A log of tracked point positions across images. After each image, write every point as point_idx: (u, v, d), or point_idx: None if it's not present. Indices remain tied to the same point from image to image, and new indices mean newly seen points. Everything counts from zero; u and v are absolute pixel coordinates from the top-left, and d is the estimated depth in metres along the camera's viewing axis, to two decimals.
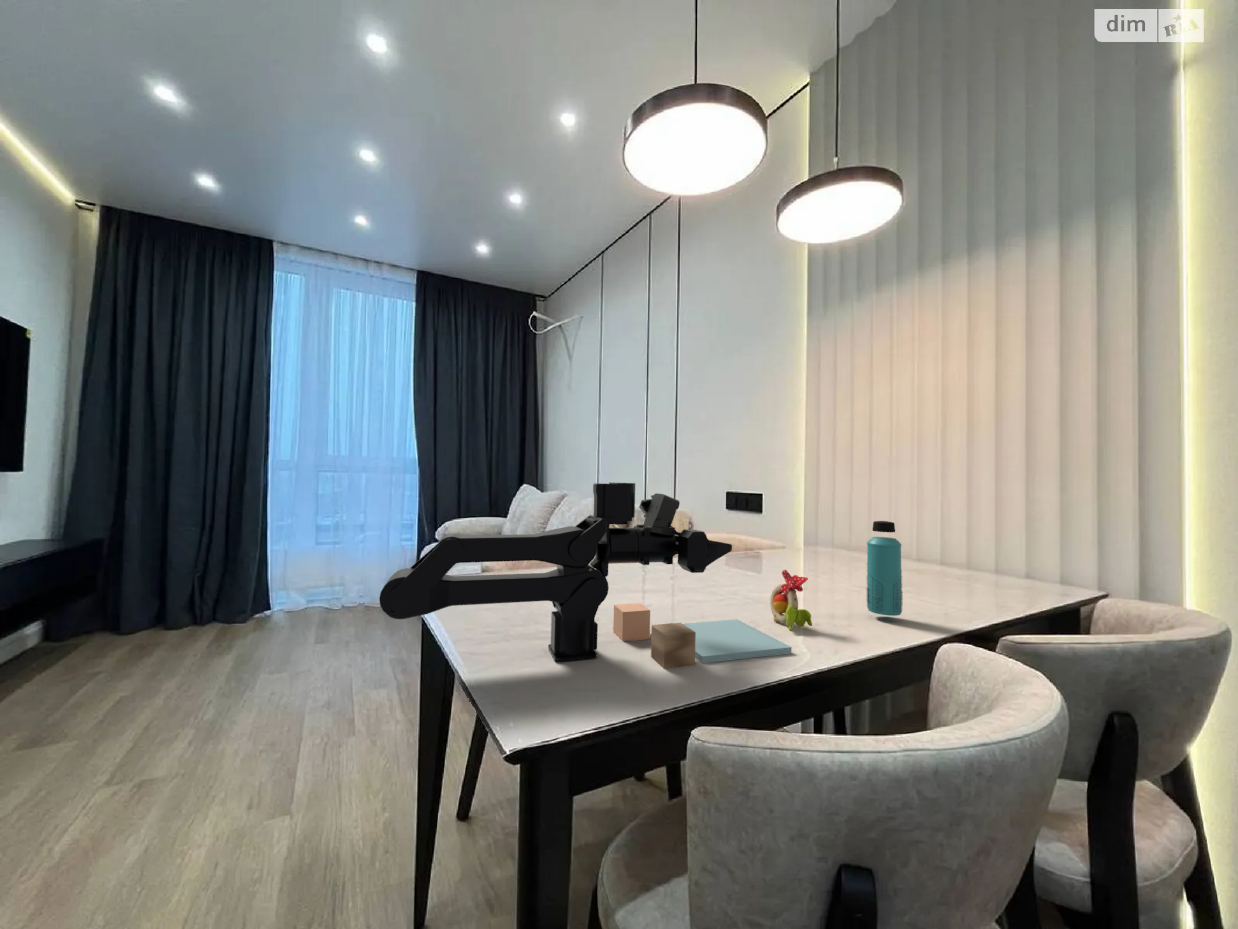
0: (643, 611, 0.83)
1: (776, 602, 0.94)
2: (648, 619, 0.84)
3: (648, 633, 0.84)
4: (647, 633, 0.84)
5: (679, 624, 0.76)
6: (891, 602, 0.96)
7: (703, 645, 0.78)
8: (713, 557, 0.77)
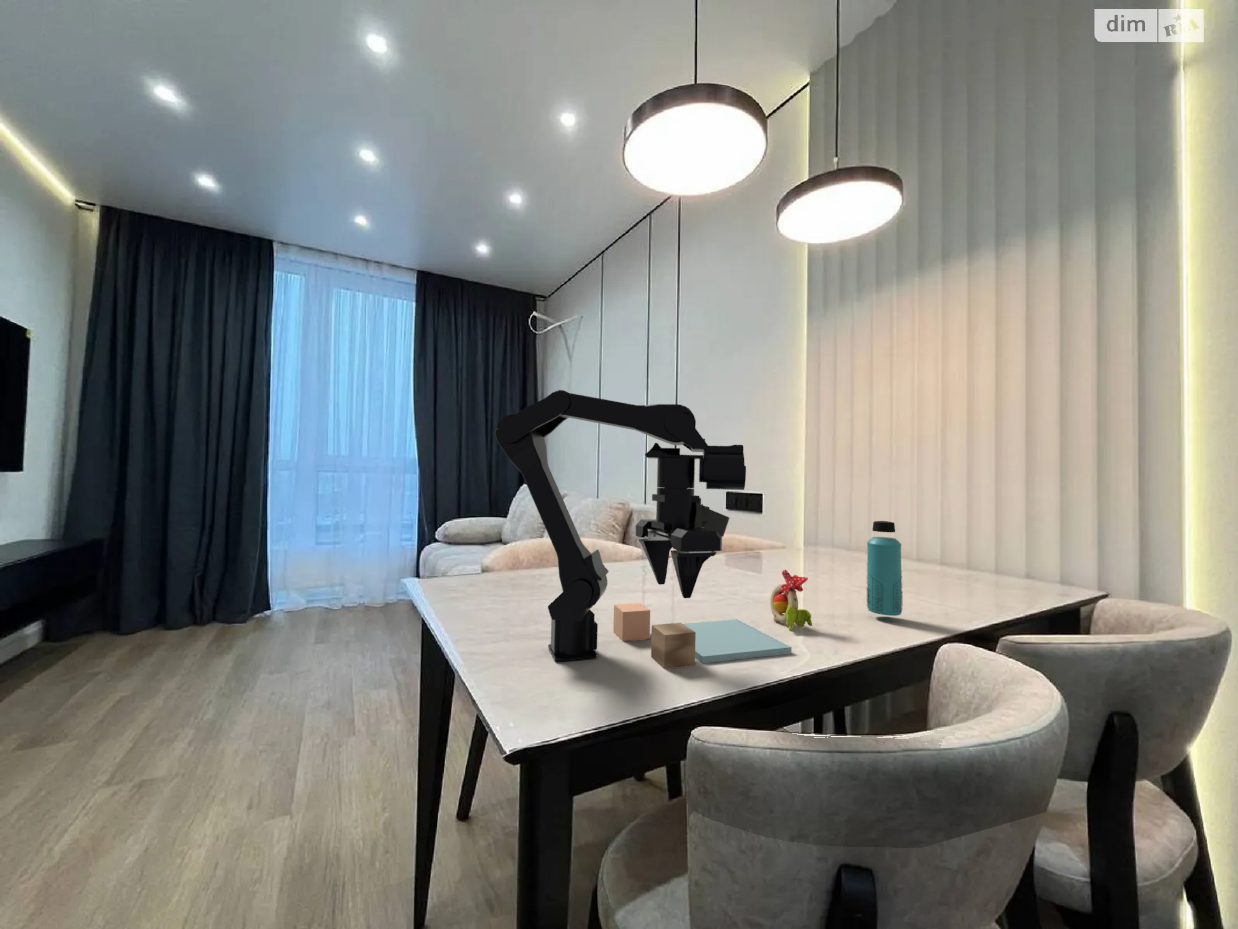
0: (643, 611, 0.83)
1: (776, 602, 0.94)
2: (648, 619, 0.84)
3: (648, 633, 0.84)
4: (647, 633, 0.84)
5: (679, 624, 0.76)
6: (891, 602, 0.96)
7: (703, 645, 0.78)
8: (683, 571, 0.68)
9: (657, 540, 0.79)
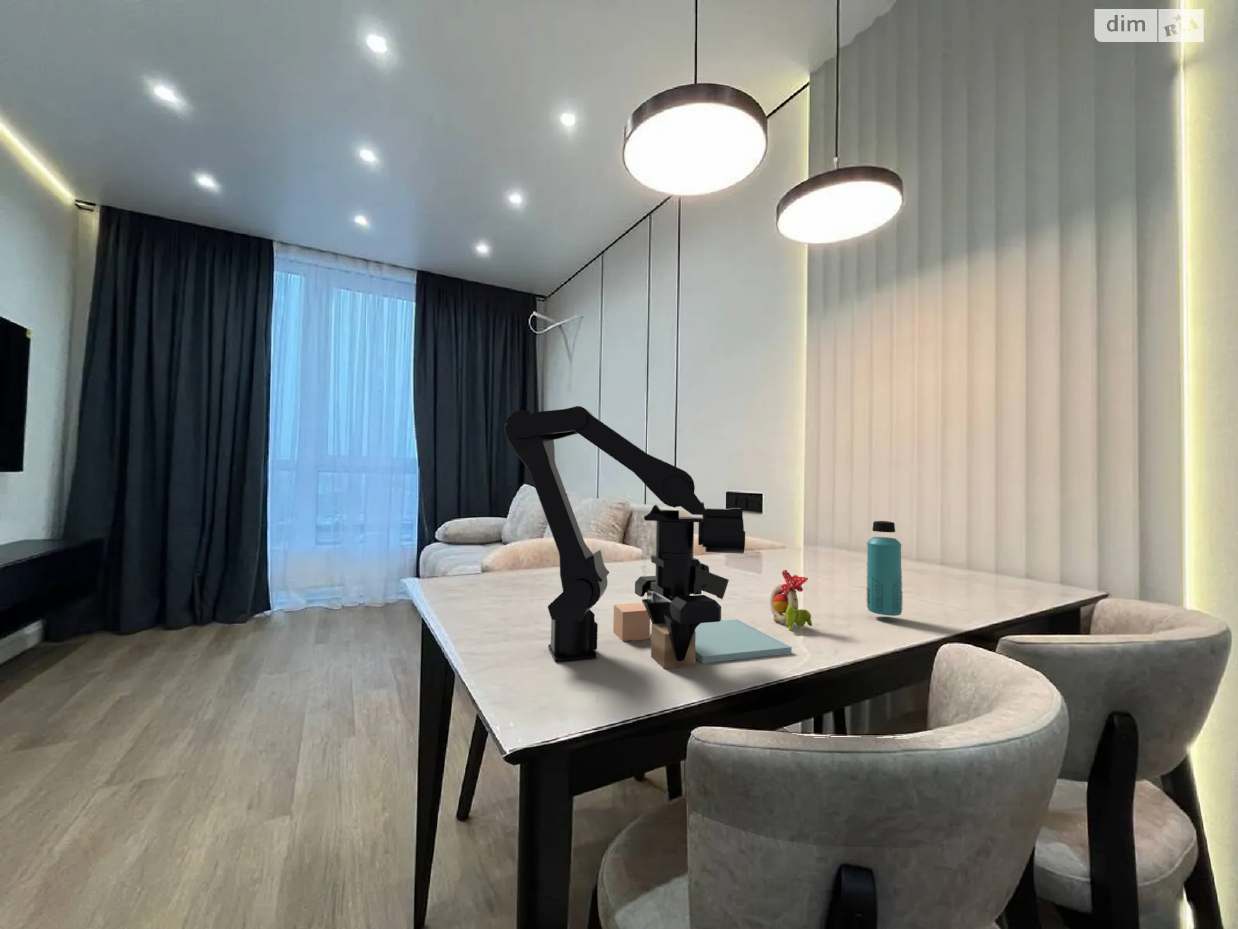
0: (643, 611, 0.83)
1: (776, 602, 0.94)
2: (648, 619, 0.84)
3: (648, 633, 0.84)
4: (647, 633, 0.84)
5: None
6: (891, 602, 0.96)
7: (703, 645, 0.78)
8: (676, 636, 0.69)
9: (661, 602, 0.77)
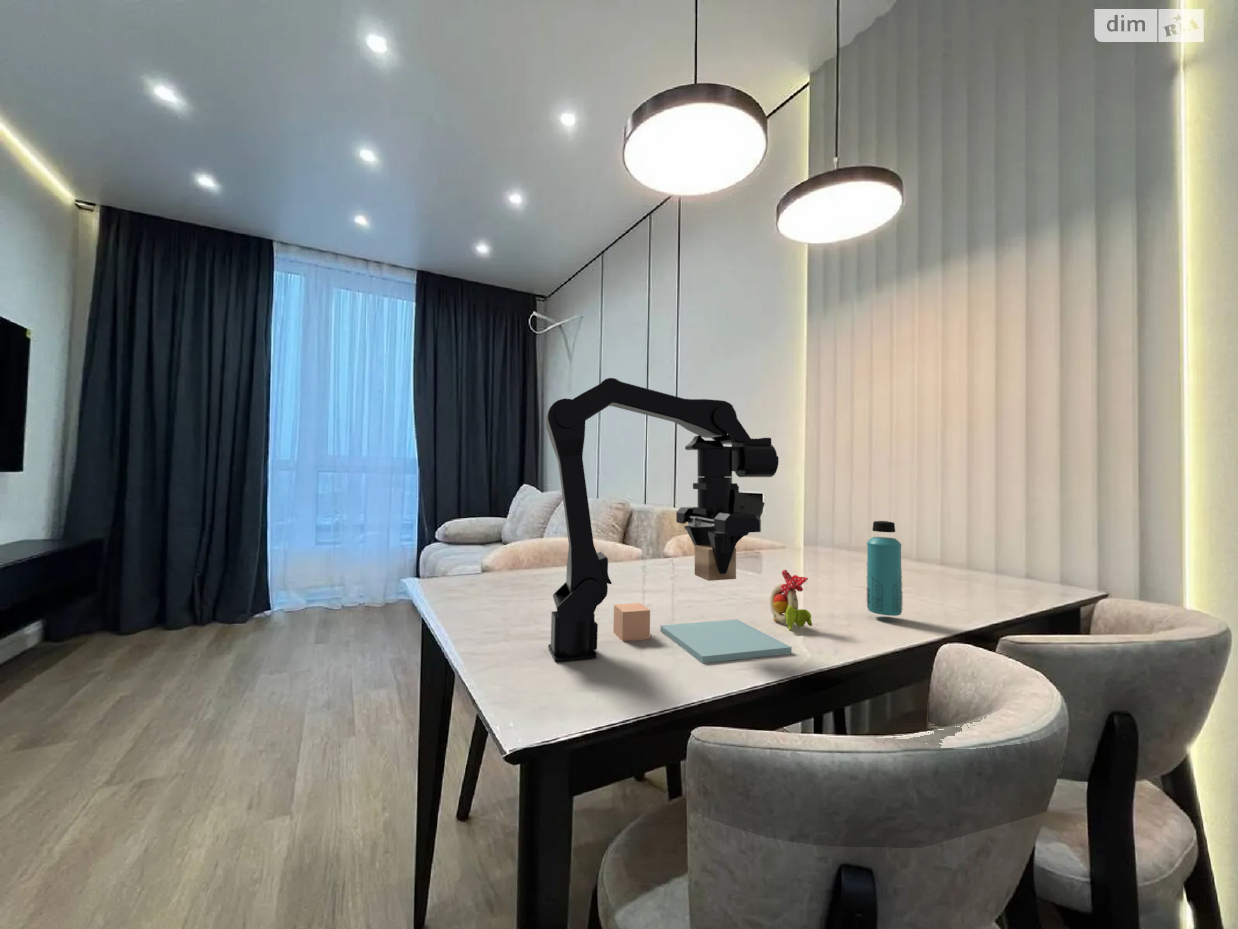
0: (643, 611, 0.83)
1: (776, 602, 0.94)
2: (648, 619, 0.84)
3: (648, 633, 0.84)
4: (647, 633, 0.84)
5: None
6: (891, 602, 0.96)
7: (703, 645, 0.78)
8: (719, 549, 0.77)
9: (702, 526, 0.84)
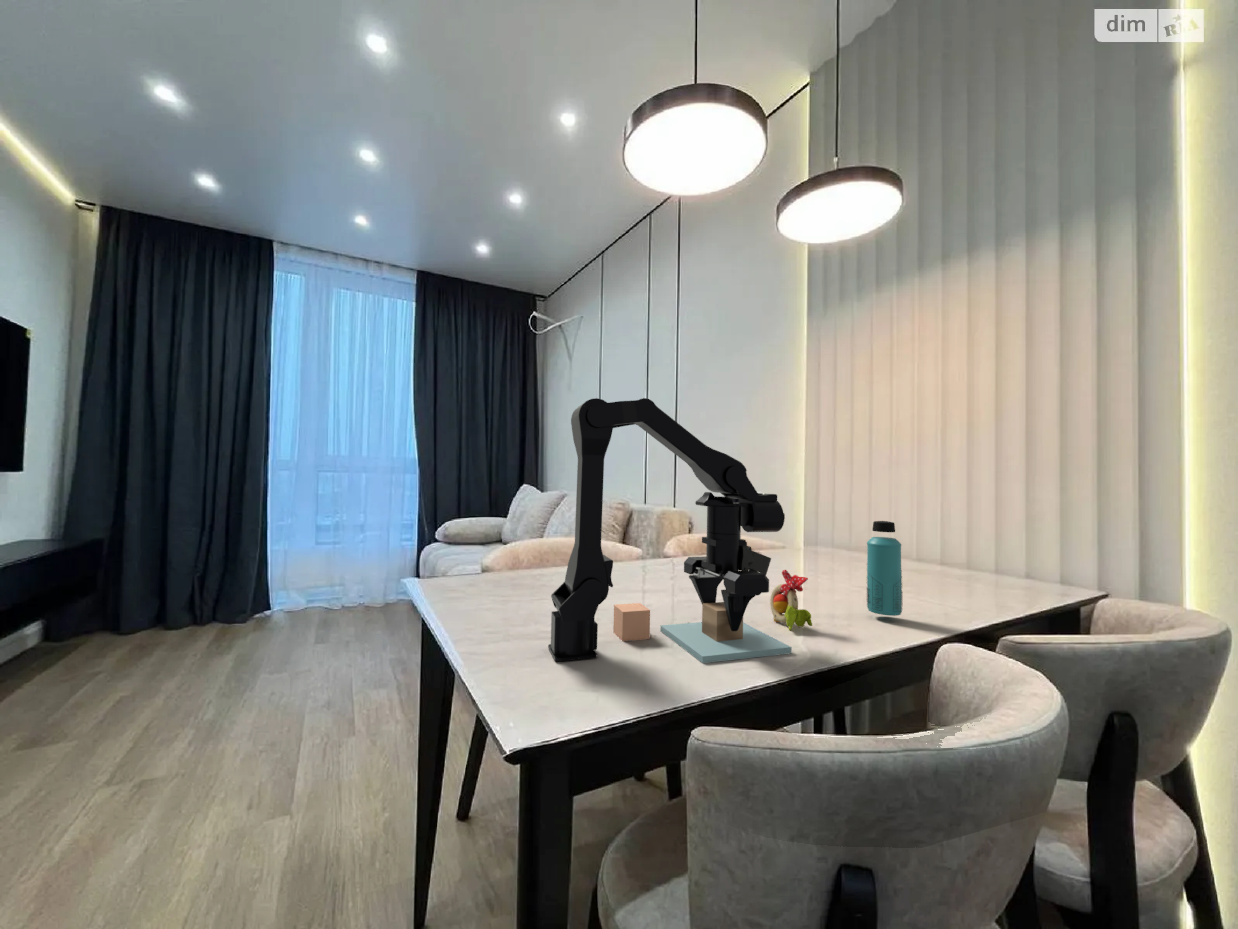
0: (643, 611, 0.83)
1: (776, 602, 0.94)
2: (648, 619, 0.84)
3: (648, 633, 0.84)
4: (647, 633, 0.84)
5: None
6: (891, 602, 0.96)
7: (703, 645, 0.78)
8: (732, 608, 0.78)
9: (706, 577, 0.88)
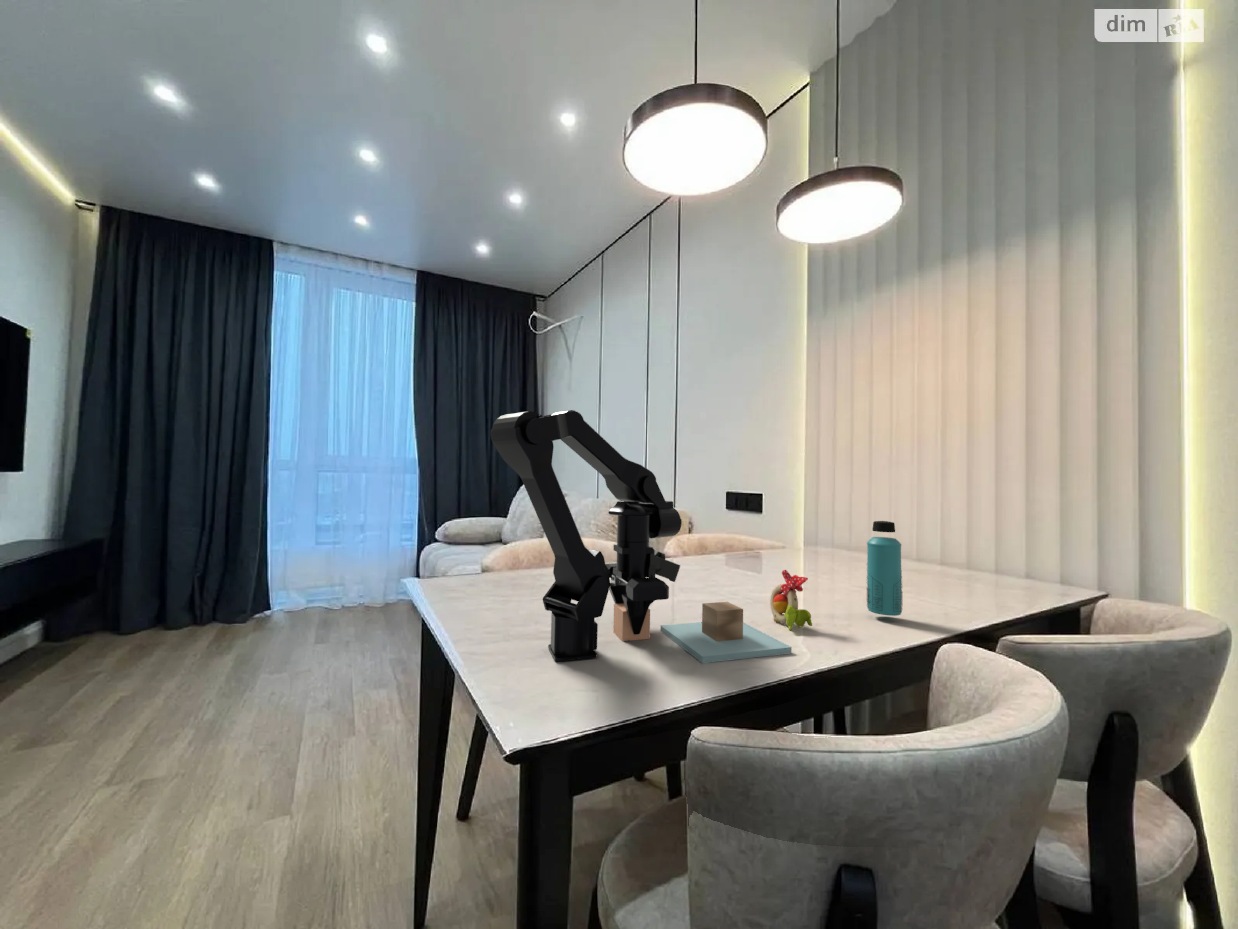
0: None
1: (776, 602, 0.94)
2: (648, 618, 0.84)
3: (648, 632, 0.84)
4: (647, 632, 0.84)
5: (726, 603, 0.85)
6: (891, 602, 0.96)
7: (703, 645, 0.78)
8: (632, 612, 0.81)
9: (623, 585, 0.89)
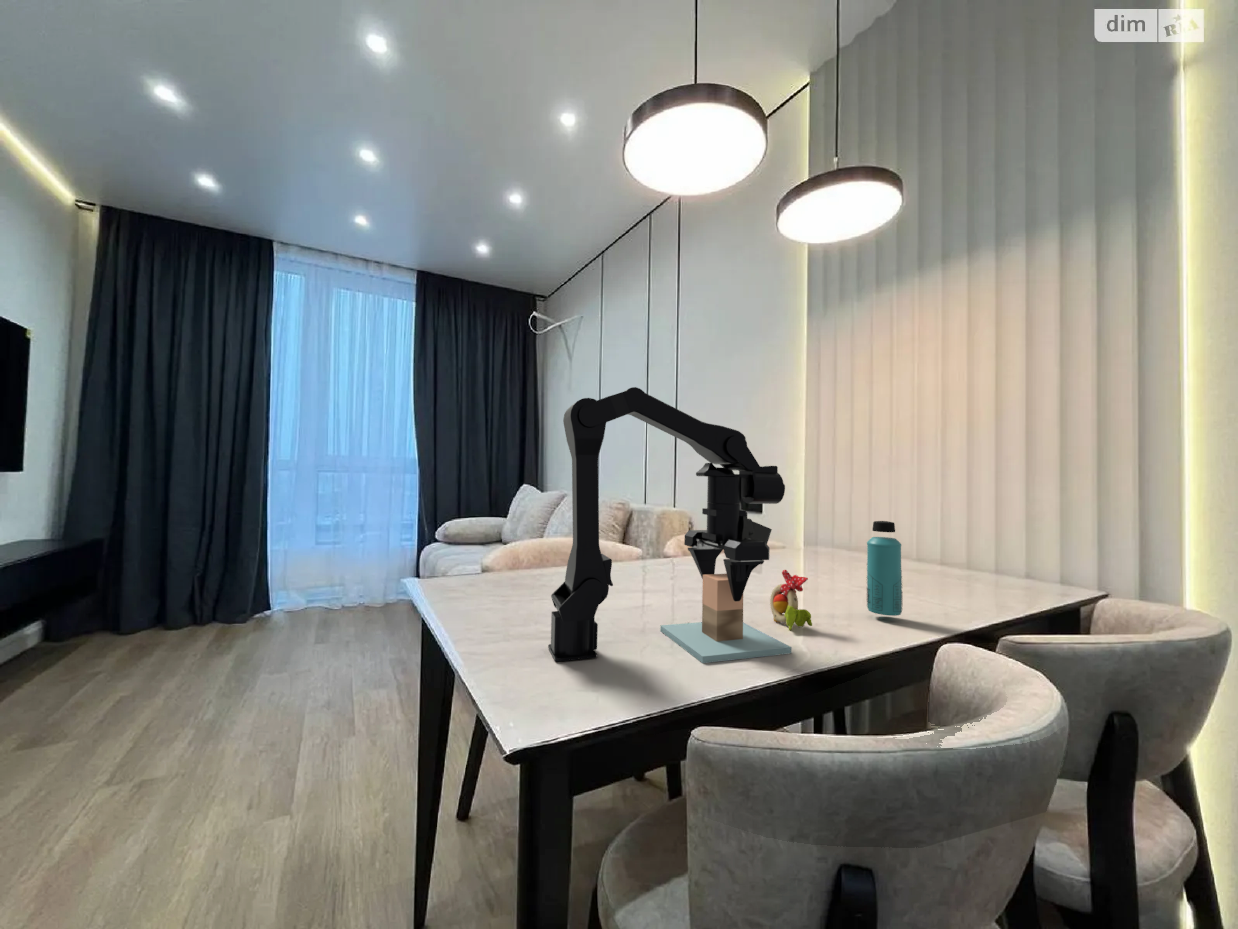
0: None
1: (776, 602, 0.94)
2: None
3: (741, 602, 0.82)
4: (740, 602, 0.82)
5: None
6: (891, 602, 0.96)
7: (703, 645, 0.78)
8: (735, 577, 0.77)
9: (705, 549, 0.88)
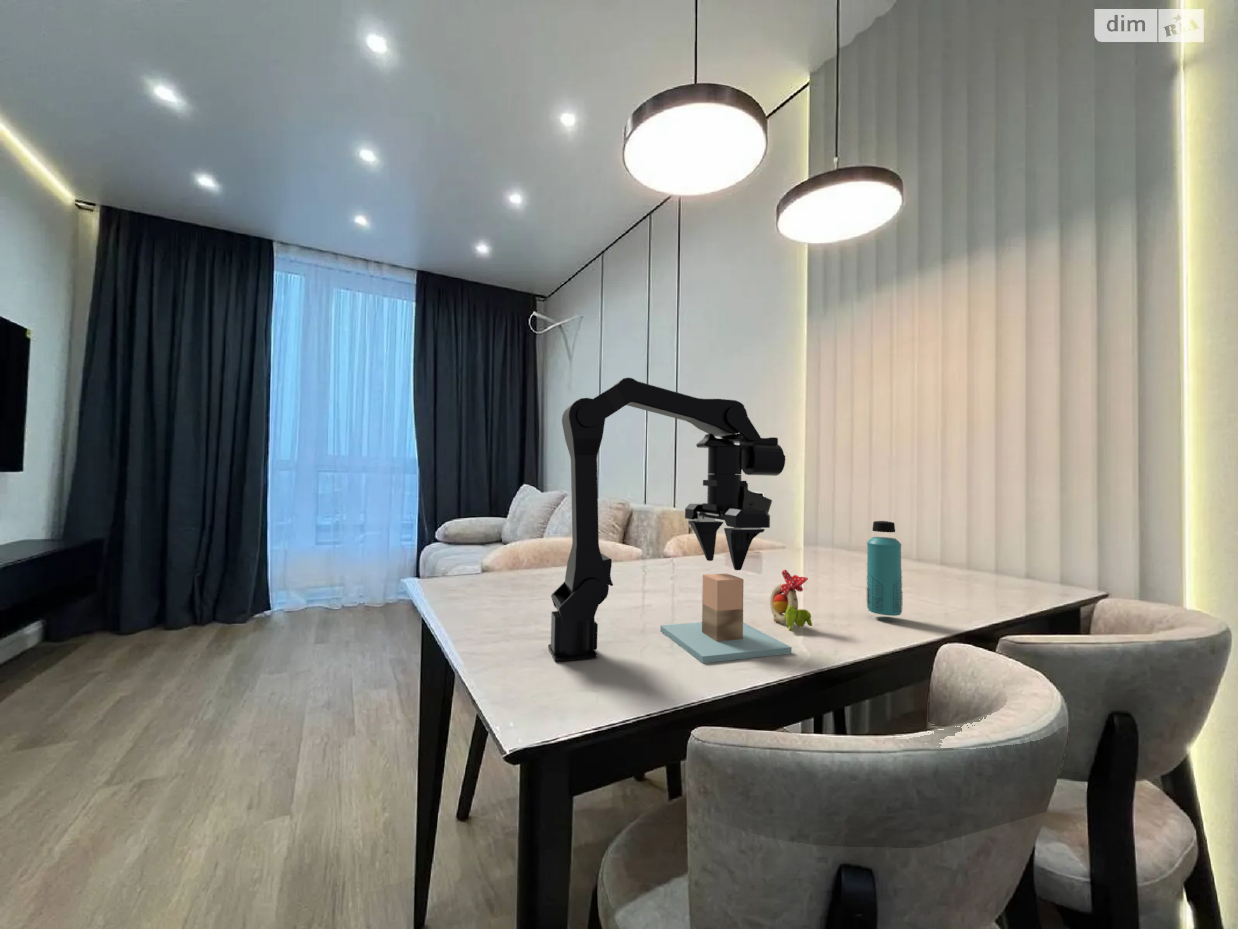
0: (737, 580, 0.81)
1: (776, 602, 0.94)
2: (741, 588, 0.82)
3: (741, 602, 0.82)
4: (740, 602, 0.82)
5: None
6: (891, 602, 0.96)
7: (703, 645, 0.78)
8: (735, 546, 0.77)
9: (705, 521, 0.89)
